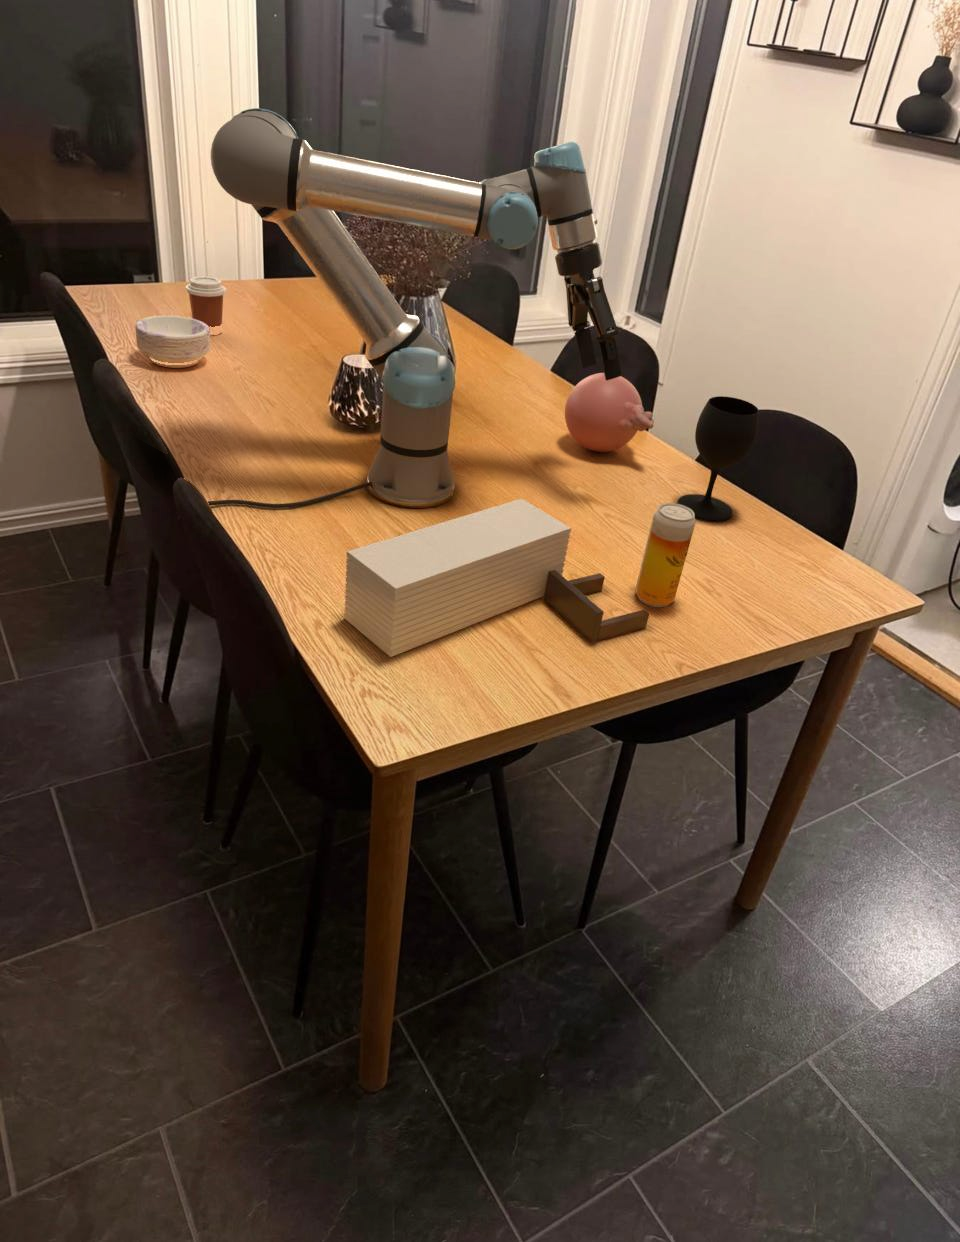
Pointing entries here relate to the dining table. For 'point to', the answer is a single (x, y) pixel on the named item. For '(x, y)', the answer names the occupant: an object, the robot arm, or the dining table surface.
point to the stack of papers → (452, 574)
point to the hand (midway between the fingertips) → (601, 372)
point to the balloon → (605, 413)
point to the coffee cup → (206, 299)
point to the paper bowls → (173, 339)
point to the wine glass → (721, 449)
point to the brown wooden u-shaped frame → (588, 607)
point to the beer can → (665, 554)
